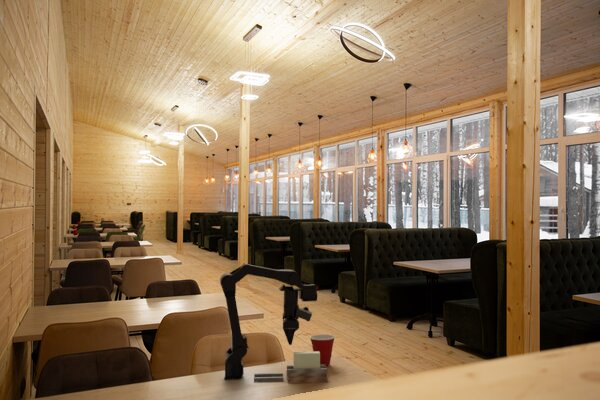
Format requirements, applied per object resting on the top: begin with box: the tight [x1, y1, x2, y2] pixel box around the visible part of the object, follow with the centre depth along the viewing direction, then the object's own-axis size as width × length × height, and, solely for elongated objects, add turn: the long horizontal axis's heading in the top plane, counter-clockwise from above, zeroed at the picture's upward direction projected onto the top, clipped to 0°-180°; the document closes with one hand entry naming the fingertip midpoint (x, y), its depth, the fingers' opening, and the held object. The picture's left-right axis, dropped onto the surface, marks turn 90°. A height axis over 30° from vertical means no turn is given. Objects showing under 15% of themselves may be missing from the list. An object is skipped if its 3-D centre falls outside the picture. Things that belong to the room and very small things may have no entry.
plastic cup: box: [309, 334, 336, 367], centre depth 188 cm, size 11×11×12 cm
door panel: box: [293, 351, 320, 369], centre depth 173 cm, size 10×2×8 cm, turn 94°
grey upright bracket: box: [253, 372, 284, 383], centre depth 172 cm, size 11×5×1 cm, turn 94°
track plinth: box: [285, 364, 329, 384], centre depth 173 cm, size 15×10×4 cm, turn 94°
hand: (290, 341), depth 179 cm, fingers open, 9 cm apart
